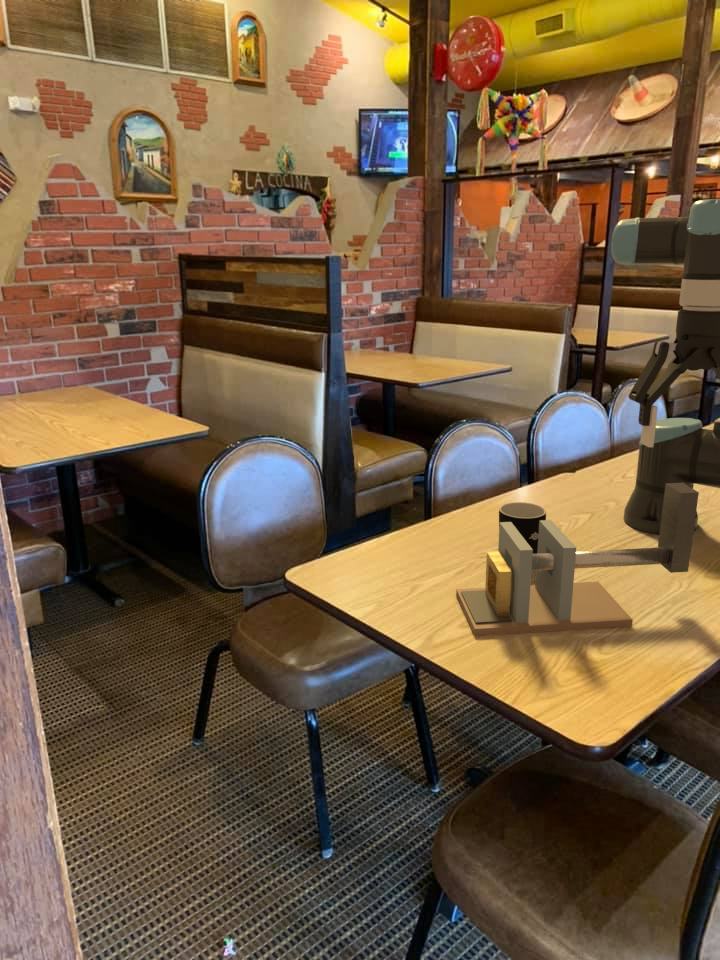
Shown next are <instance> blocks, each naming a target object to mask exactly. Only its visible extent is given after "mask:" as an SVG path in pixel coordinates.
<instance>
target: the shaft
mask: <svg viewBox="0 0 720 960" xmlns="http://www.w3.org/2000/svg"><path fill="white" fill-rule="evenodd" d="M699 495H700V493H699V491H697V490H695V489H694V488H693V489H692V488H691V487H689V486H688V485H686V484H684V483H666V485H665V493H664V501H663V509H662V518H661V526H660V534H658V535H659V537H658V544H657V547H643V548H641V547H640V548H638V547H637V548H626V549H625V548H623V549H620V548H619V549H606V550H605V549H602V550H585V551H582V550H581V551H576V559H575V569H594V568H595V569H596V568H610V567H611V568H614V567H629V566H631V567H632V566H648V565H649V566H650V565H661V566H662V567H663V568H665V569H666V570H667V571H668V572H669V573H670V574H671V573H672V574H673V573H688V572H689V567H690V560H691V552H692V543H693V537H694V531H695V530H694V524H695V516H696V510H698V509H697V508H698V500H699ZM553 563H554V555H553V553H540V554H533V555H532V571H531V572H536V571H539V570H553Z"/></svg>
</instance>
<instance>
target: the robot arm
mask: <svg viewBox="0 0 720 960" xmlns="http://www.w3.org/2000/svg"><path fill="white" fill-rule="evenodd" d="M610 249H611V256H612V258H613V260H614V262H615V263H616V264H619V265H630V266H643V265H644V266H662V267H663V266H664V267H671V268H672V267H673V268H682V276H681V277H682V278H681V284H680V294H679V301H678V302H679V306H680V307H682V308H680V309H679V310H678V311H677V317H676V324H675V325H676V326H675V334H676V335H675V339H674V341H673V342H666V341H662V340H660V339H659V340H656V341H655V342H654V343H653V349H652V354H651V355H650V358H649V359H648V361H647V363H646V364H645V366H644V368H643V369H642V371H641V373H640V375H639V377H638V379H637V380H636V382H635V384H634V385H633V386H632V389H631V390H630V393H629V394H628V398H629V400H630V401H632V402H635V403H638V404H639V412H638V419H637V420H638V424H639V425H641V426H642V429H641V434H640V440H639V443H638V445H639V446H638V447H639V448H638V456H637V457H638V458H637V460H638V461H637V469H636V478H635V486H634V489H633V491H632V492H631V494H630V497H629V499H628V502H627V503H626V505H625V507H624V511H623V521H624V522H625V523H626V524H627V525H628V526H630V527H633V528H635V529H636V530H639V531H643V532H645V533H650V534H651V533H652V534H656V535H659V534H660V526H661V518H662V509H663V501H664V493H665V485H666V483H684V484H686V485H688V486H689V487H691V488H692V489H694V486H695V485H701V486H705V487H711V488H716V489H720V417H718V418H717V419H715V420H714V424H713V428H712V429H708V428H707V429H706V428H703V423H702V421H701V420H700V419H695V418H693V417H692V418H691V417H670V418H662V419H661V418H660V419H657V418H658V409H659V407H658V406H656V405H655V403H656V402H657V401H658V399H659V398H660V397H661V396H662V395H663V394H664V393H665V392H666V391H667V390H668V389H669V387H670V386H671V385H672V384H673V383H674V382H675V381H676V380H677V379H678V377H680V375H682V374H684V373H686V371H687V370H688V371H699V370H704V371H711V370H712V371H713V372H714V374H715V375H716V376H717V378H718V379H719V380H720V198H710V199H699V200H697V201H695V202H694V203H692V205H691V206H690V211H689V215H688V216H680V217H679V216H676V217H675V216H673V217H672V216H665V217H664V216H663V217H635V218H626V219H625V218H624V219H621V220H619V221H618V222H617V224H616V225H615V227H614V229H613V232H612V236H611V244H610ZM672 353H673V354H674V357H673V358H672V359H671V360H670V361H669V363H668V364H667V367H666V368H665V369H664V371H663V372H662V373H661V374H660V375H659V373H660V372H661V369H662V367H663V366H664V365H665V362H666V361H667V358H668V357H669V356H670V355H671V354H672ZM658 375H659V376H658ZM657 376H658V377H657ZM694 484H695V485H694ZM697 510H698V509H696V516H695V524H694V531H696V529H697V528H698V522H699V516H698V515H699V514H698V511H697Z"/></svg>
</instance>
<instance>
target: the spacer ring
mask: <svg viewBox="0 0 720 960" xmlns="http://www.w3.org/2000/svg"><path fill="white" fill-rule="evenodd" d="M485 566H486V569H485V586H484V588H485V595H486V597H487V598H488V600H489V602H490V604H491V606H492V608H493V609H494V611H495V613H496V615H497V616H509V613H510V594H511V575H512V571H511V570H510V568H509V567H508V565H507V564H506V562H505V561H504V559H503V557H502V556H501V554H500V553H499V551H498V550H496V551H486V565H485Z"/></svg>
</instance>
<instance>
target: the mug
mask: <svg viewBox="0 0 720 960" xmlns="http://www.w3.org/2000/svg"><path fill="white" fill-rule="evenodd" d="M498 510H499V511H498V526H499V525H500V522H512V524H513V525H514V526H515V528H516V529H517V530H518V531H519V533H520V534H521V535H522V537H523V538H524V539H525V540H526V542H527V543H528V544H529V546H530V547H531V548H532V549H533V554H537V551H538V535H539V521H540V520H547V510H546V509H545V507H543V506H541V505H538V504H535V503H531V502H522V501H519V502H518V501H517V502H509V503H505V504H502V505H501V506H500V507H499V509H498Z"/></svg>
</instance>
